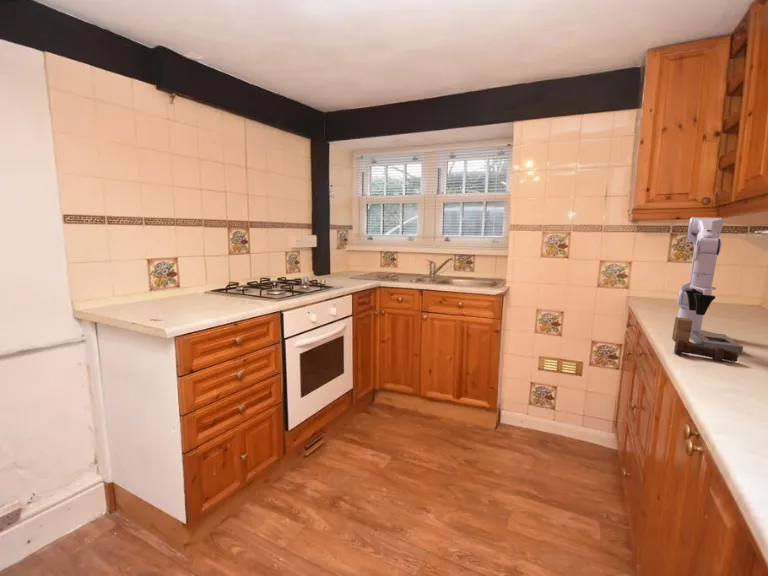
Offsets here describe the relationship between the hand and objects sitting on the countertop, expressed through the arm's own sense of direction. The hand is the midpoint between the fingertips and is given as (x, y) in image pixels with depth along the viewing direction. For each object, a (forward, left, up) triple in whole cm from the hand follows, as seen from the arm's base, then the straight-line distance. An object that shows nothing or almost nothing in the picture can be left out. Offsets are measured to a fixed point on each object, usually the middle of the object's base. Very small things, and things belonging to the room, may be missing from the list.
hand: (696, 312), depth 138 cm
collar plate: (+1, +6, -10) cm, 12 cm away
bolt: (+20, -1, -11) cm, 23 cm away
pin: (+1, -4, -11) cm, 11 cm away
